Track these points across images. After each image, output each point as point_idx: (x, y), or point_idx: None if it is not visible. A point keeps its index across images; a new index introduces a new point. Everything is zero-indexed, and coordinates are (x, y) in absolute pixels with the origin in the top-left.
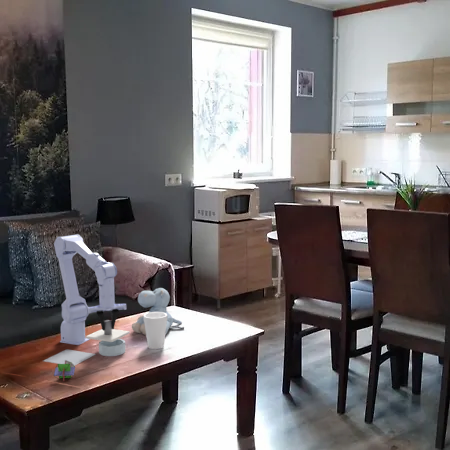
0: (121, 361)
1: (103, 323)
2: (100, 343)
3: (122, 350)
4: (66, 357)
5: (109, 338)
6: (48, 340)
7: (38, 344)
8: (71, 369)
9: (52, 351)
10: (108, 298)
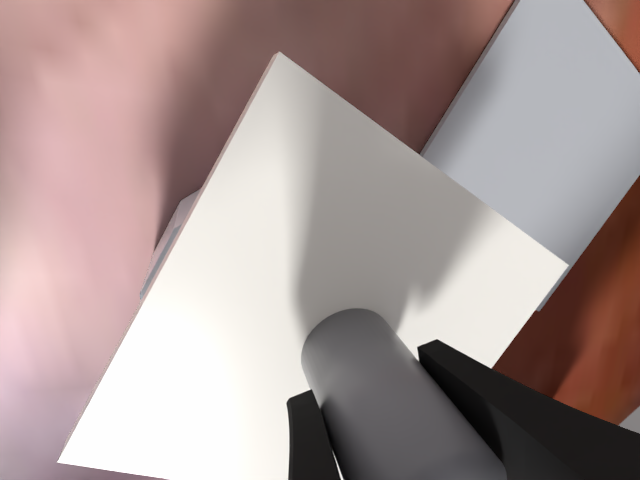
0: (149, 26)
1: (512, 406)
2: None
3: (167, 230)
4: (560, 169)
5: (323, 149)
6: None
7: (628, 379)
8: None
9: (596, 291)
10: None
